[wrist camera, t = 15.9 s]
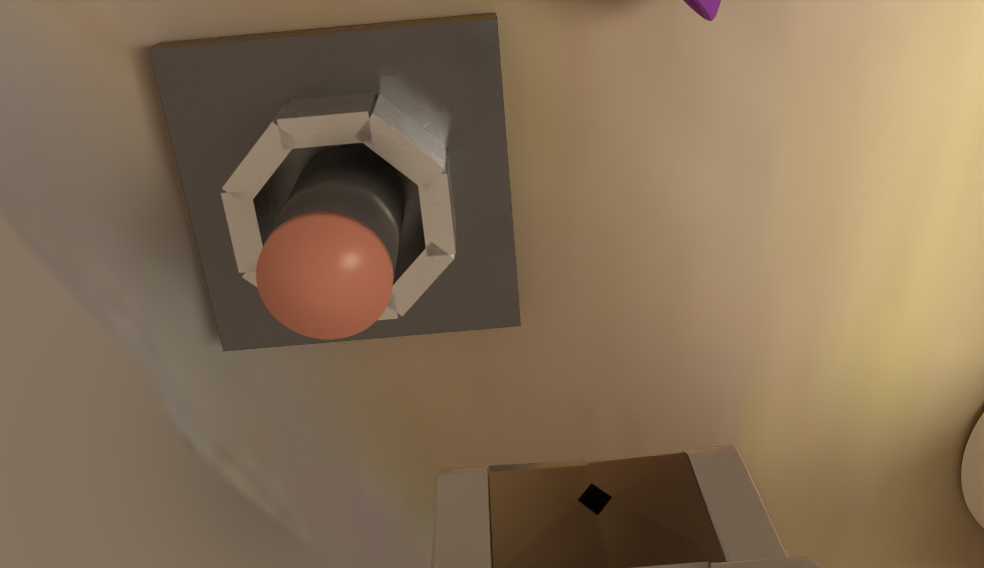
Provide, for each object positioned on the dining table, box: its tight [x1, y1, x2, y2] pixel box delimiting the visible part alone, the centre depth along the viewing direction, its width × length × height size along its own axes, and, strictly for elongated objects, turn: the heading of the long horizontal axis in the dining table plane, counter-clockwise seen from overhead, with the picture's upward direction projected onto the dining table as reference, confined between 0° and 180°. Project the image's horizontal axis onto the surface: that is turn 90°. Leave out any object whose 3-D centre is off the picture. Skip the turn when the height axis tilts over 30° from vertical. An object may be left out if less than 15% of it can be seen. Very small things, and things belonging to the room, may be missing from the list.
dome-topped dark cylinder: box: [256, 148, 405, 339], centre depth 35 cm, size 5×5×8 cm
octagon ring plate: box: [149, 13, 521, 351], centre depth 38 cm, size 14×14×4 cm
